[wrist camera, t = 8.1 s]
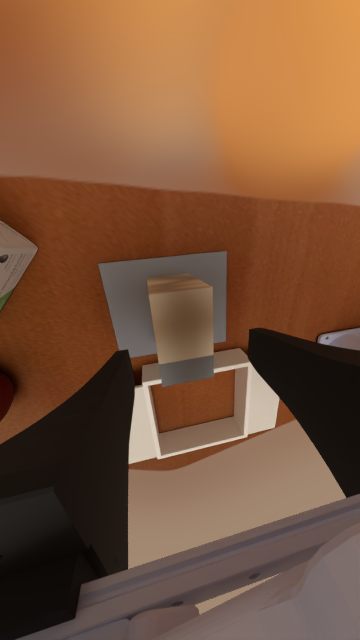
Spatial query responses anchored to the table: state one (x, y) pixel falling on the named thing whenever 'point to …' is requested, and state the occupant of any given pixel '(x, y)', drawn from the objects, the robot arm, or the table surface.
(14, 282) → the ink box
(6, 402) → the dark red rice bowl
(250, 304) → the table surface
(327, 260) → the table surface
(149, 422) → the beige hollow rectangular frame
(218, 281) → the mat
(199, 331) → the block
